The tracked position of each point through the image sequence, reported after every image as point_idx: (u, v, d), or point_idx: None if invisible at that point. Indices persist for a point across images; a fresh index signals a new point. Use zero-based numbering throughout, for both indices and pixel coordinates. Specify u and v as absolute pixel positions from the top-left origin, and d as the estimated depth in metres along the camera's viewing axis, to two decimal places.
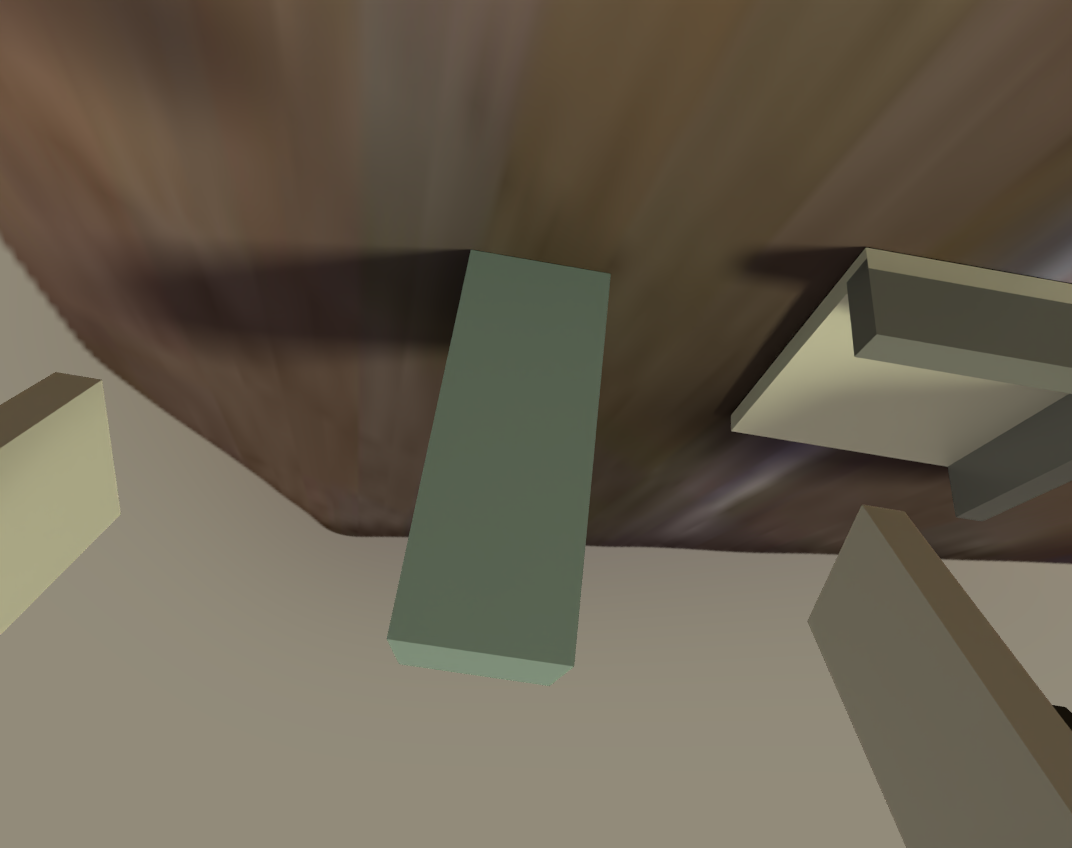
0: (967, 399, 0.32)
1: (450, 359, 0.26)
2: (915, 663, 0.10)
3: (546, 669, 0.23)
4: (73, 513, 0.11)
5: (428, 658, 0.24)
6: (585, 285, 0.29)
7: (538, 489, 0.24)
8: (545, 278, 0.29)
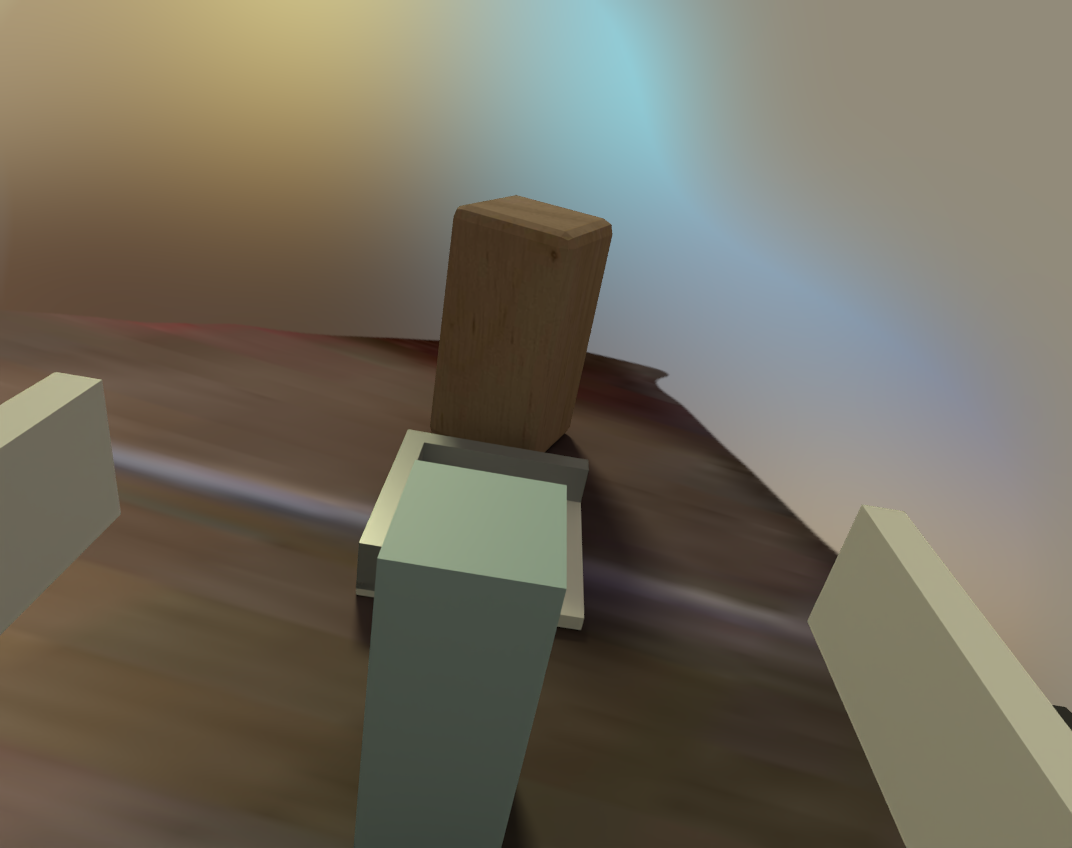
0: None
1: None
2: (915, 664, 0.10)
3: (450, 475, 0.26)
4: (73, 513, 0.11)
5: (479, 548, 0.23)
6: None
7: None
8: None
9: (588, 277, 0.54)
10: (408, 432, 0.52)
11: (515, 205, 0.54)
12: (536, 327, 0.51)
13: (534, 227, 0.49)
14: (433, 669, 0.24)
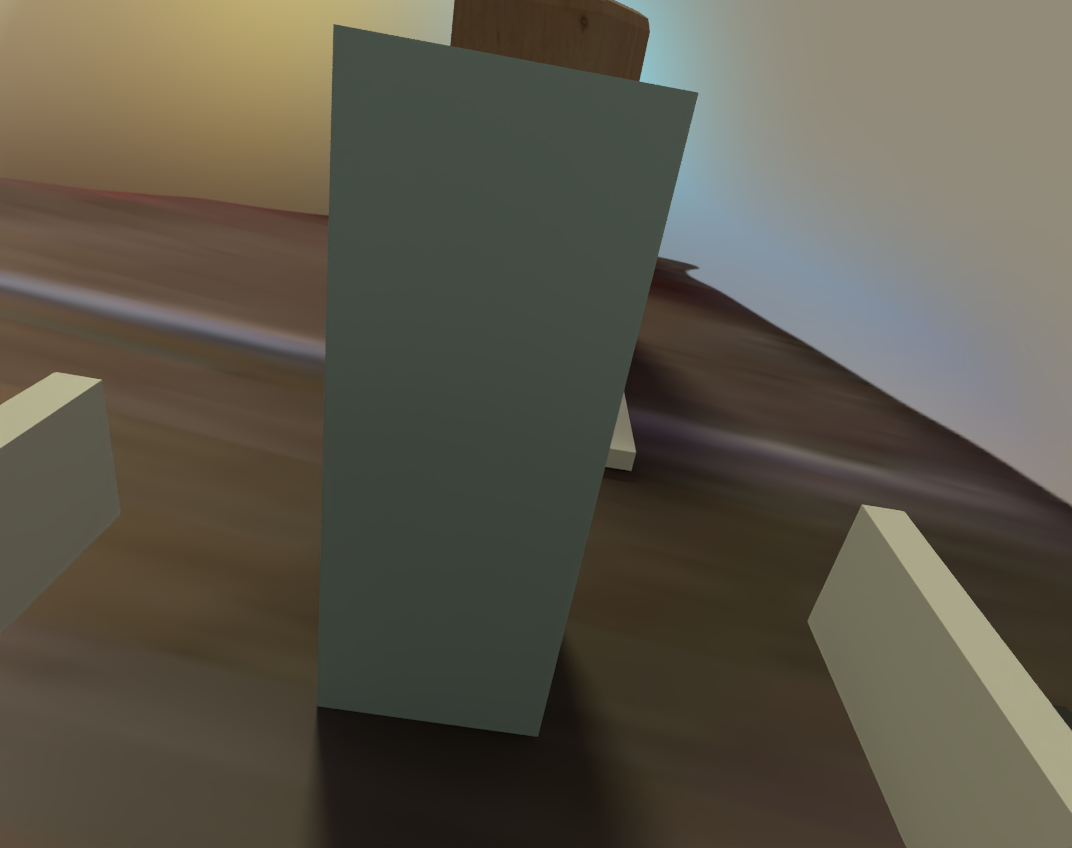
0: None
1: None
2: (915, 663, 0.10)
3: None
4: (73, 513, 0.11)
5: None
6: None
7: None
8: None
9: (622, 77, 0.44)
10: None
11: None
12: None
13: None
14: (442, 311, 0.13)
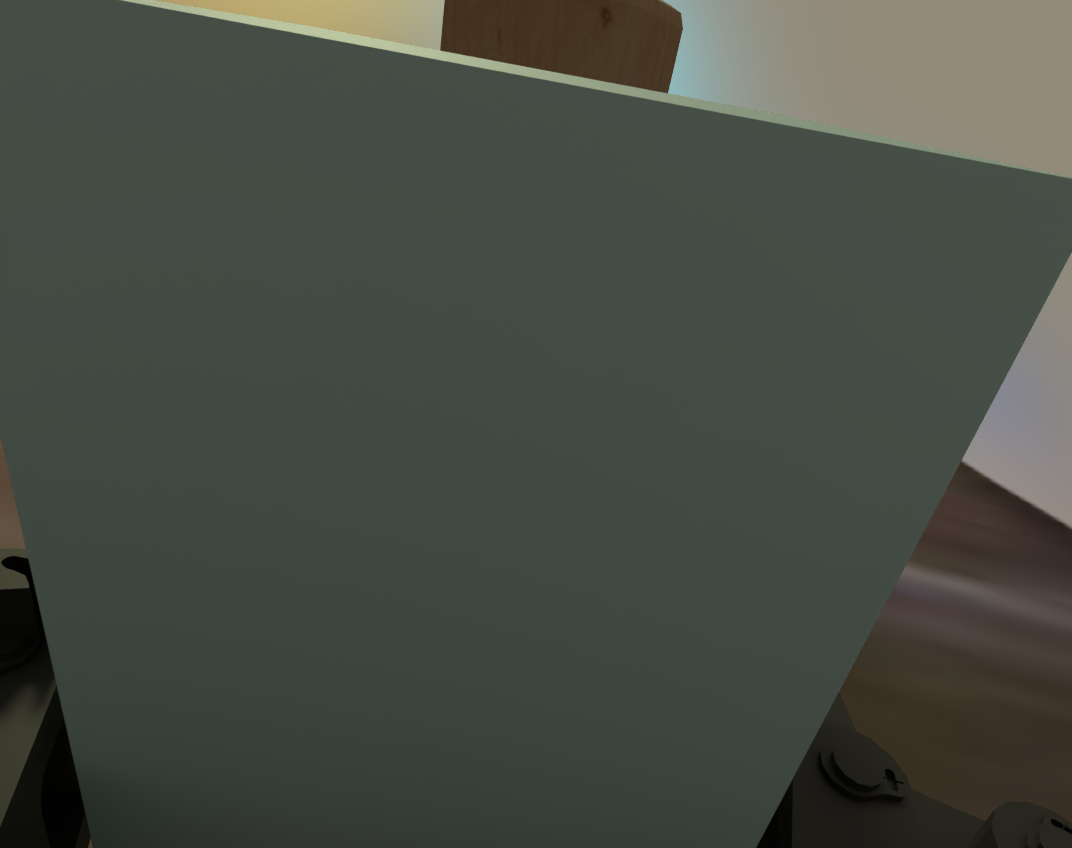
0: None
1: None
2: None
3: (422, 47, 0.08)
4: None
5: (543, 74, 0.04)
6: None
7: None
8: None
9: (650, 84, 0.36)
10: None
11: None
12: None
13: None
14: (334, 687, 0.05)
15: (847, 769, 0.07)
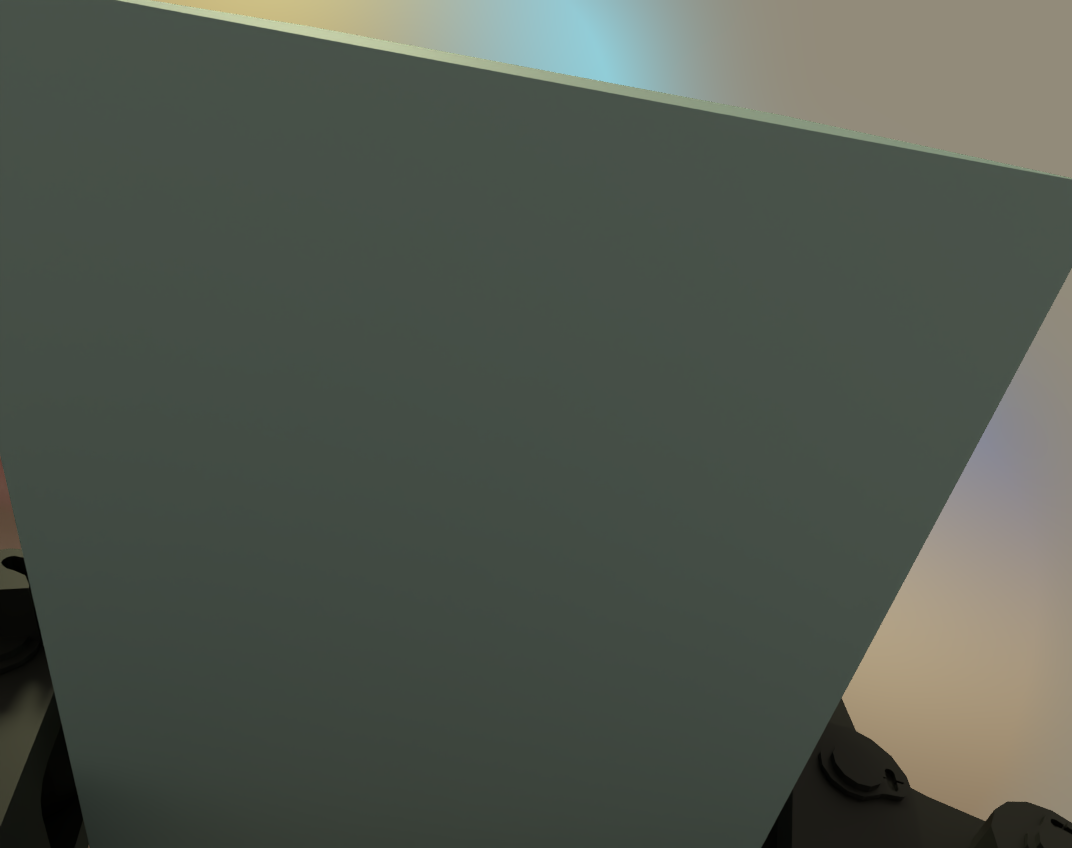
0: None
1: None
2: None
3: None
4: None
5: (544, 75, 0.04)
6: None
7: None
8: None
9: None
10: None
11: None
12: None
13: None
14: (333, 693, 0.05)
15: (847, 769, 0.07)
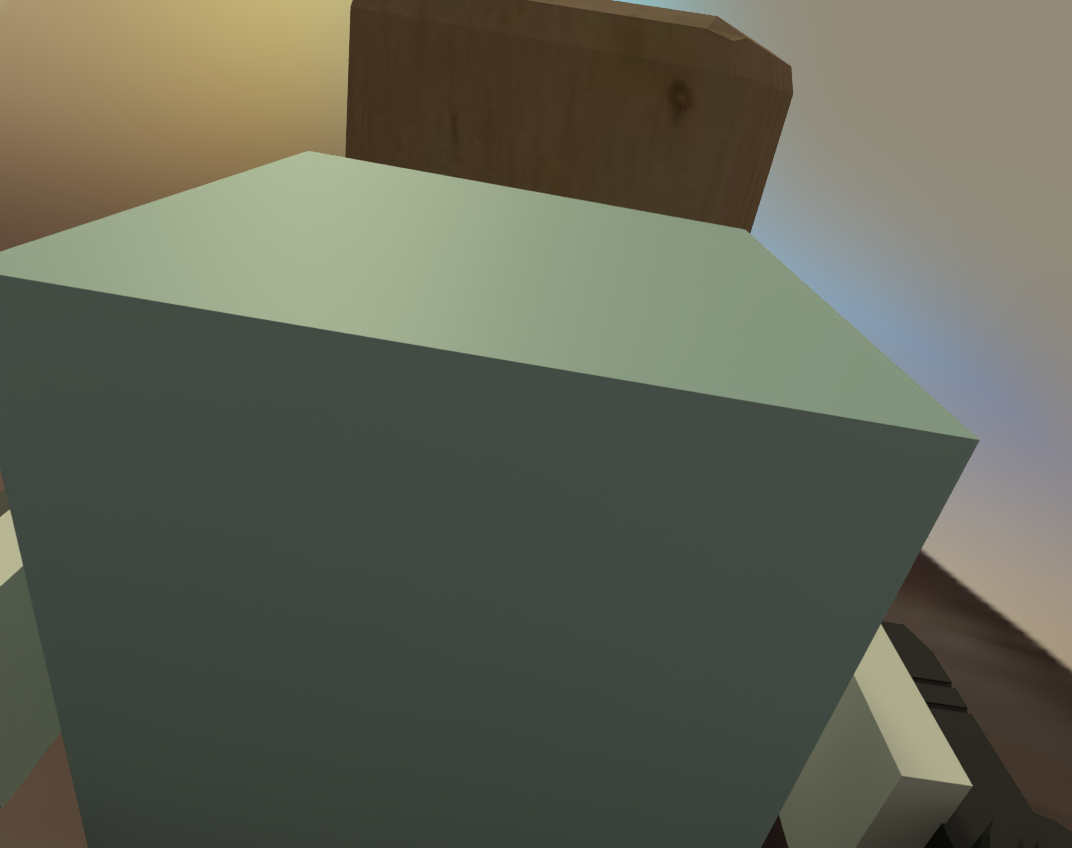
0: None
1: None
2: None
3: (410, 178, 0.09)
4: None
5: (510, 294, 0.05)
6: None
7: None
8: None
9: (743, 202, 0.19)
10: None
11: None
12: None
13: (608, 9, 0.14)
14: (327, 809, 0.06)
15: None
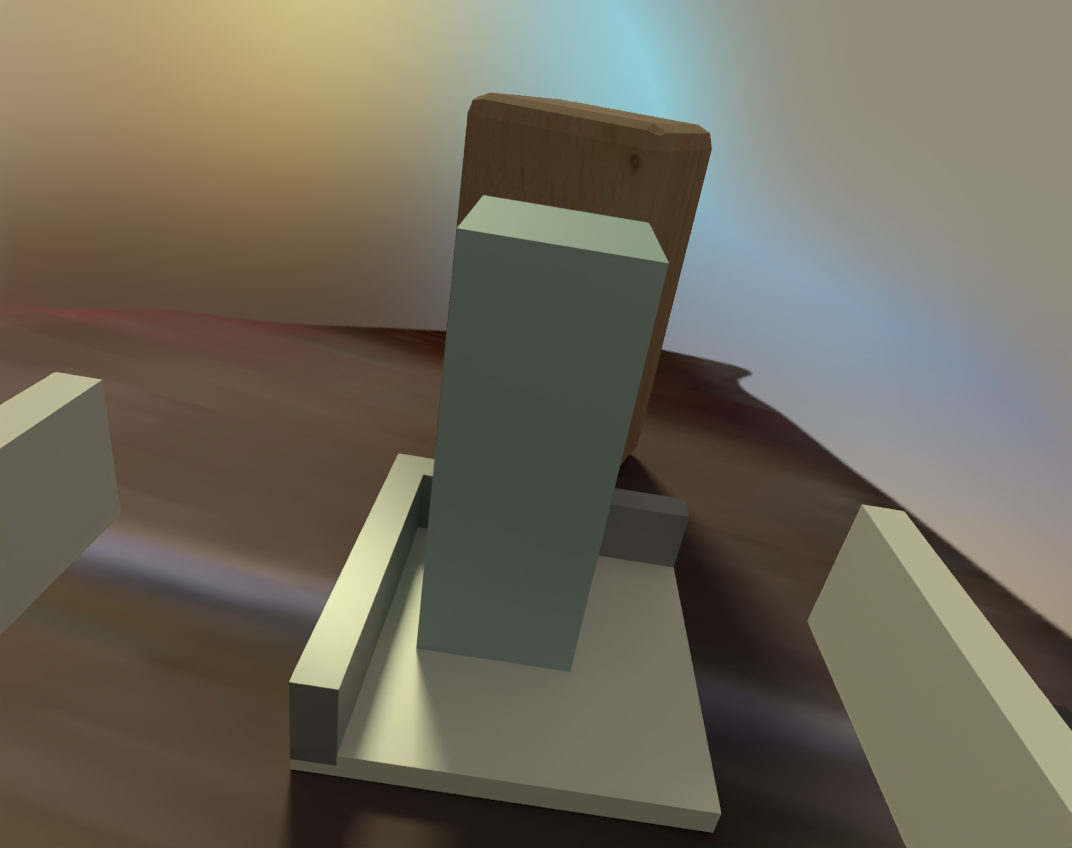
0: None
1: (428, 530, 0.24)
2: (915, 663, 0.10)
3: (523, 205, 0.24)
4: (73, 513, 0.11)
5: (566, 236, 0.20)
6: None
7: None
8: None
9: (679, 212, 0.34)
10: (398, 458, 0.33)
11: (563, 102, 0.35)
12: None
13: (600, 119, 0.30)
14: (513, 385, 0.21)
15: None
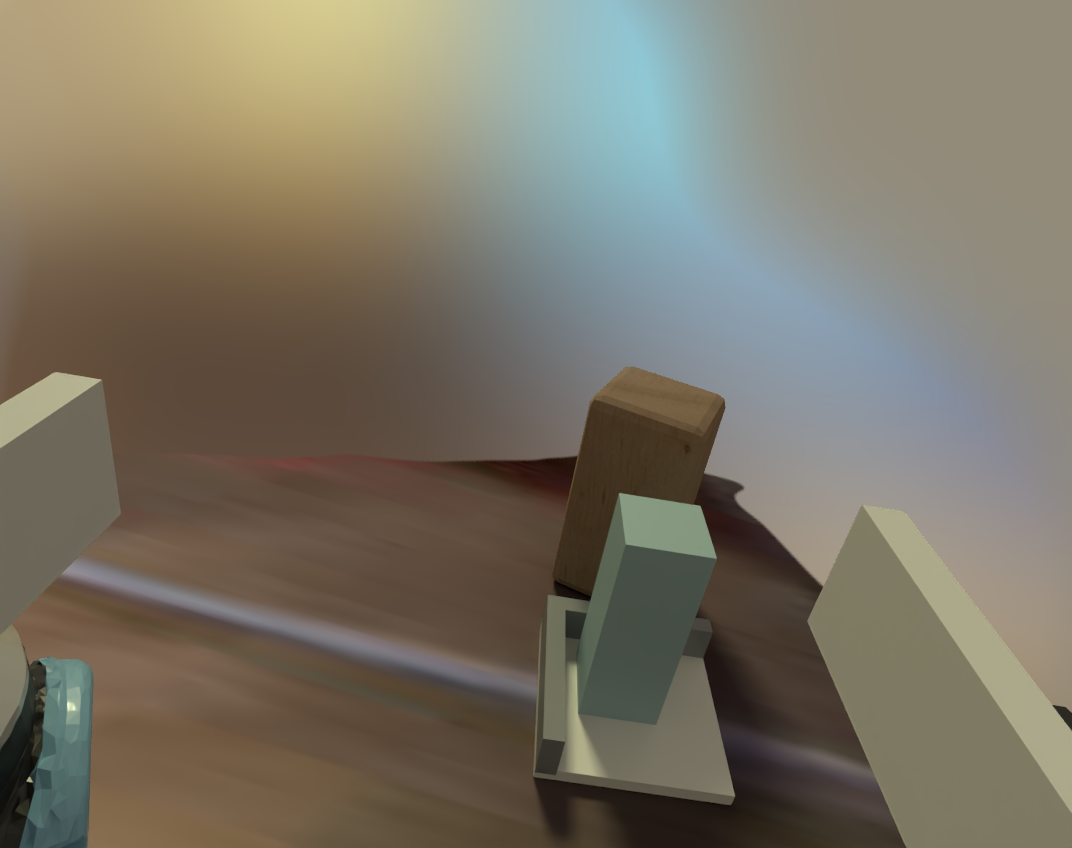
0: None
1: (592, 660, 0.49)
2: (915, 663, 0.10)
3: (640, 501, 0.49)
4: (73, 513, 0.11)
5: (669, 539, 0.45)
6: (578, 654, 0.55)
7: (603, 572, 0.50)
8: (579, 671, 0.54)
9: (707, 451, 0.59)
10: (549, 598, 0.57)
11: (640, 387, 0.59)
12: None
13: (668, 422, 0.55)
14: (642, 601, 0.46)
15: None
